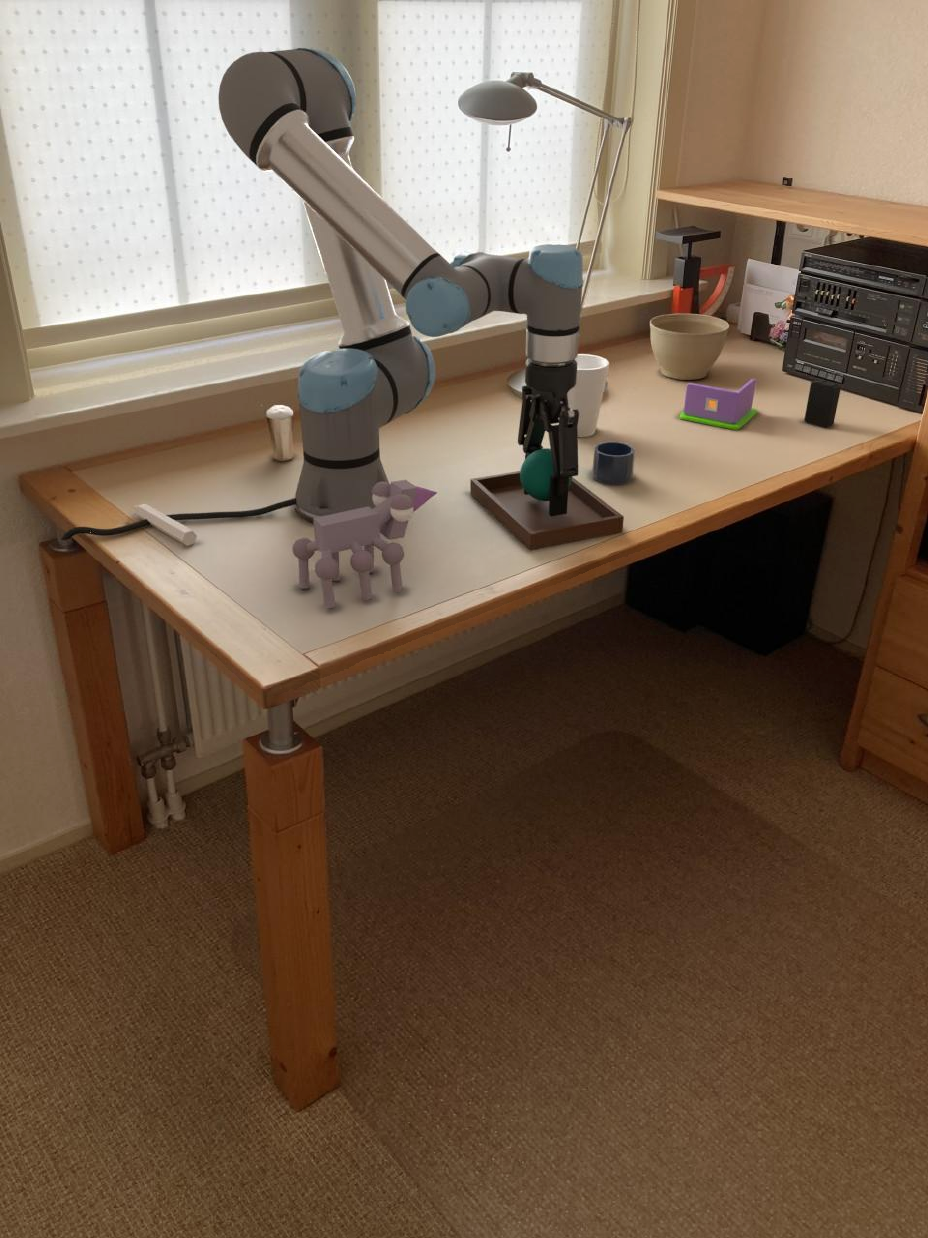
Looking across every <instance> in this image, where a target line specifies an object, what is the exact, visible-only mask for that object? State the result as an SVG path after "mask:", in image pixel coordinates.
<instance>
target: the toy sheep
mask: <svg viewBox="0 0 928 1238" xmlns="http://www.w3.org/2000/svg"><path fill="white" fill-rule="evenodd" d="M372 493H373V497H372V499H373V503H374V504H375V506H376V507H374V508H373V509H372V508H371V507H369V506H368V507H364V508H359V509H354V510H350V511H345V512H340V513H336V514H331V515H326V516H322V517H317V518H313V521H314V522H313V532H314V540H313V541H312V540H311V539H310V538H307V537H300V538H297V539H296V540H295V541H294V542H293V544H292V549H291V550H292V554H293V556H294V557H295V558H296V559H297V561H298V565H297V566H298V586H299V589H302V590H307V589H310V567H309V565H310V564H309V560H310V559H311V558H312V557H314V555H315V554H316V553H315V552H318V551H320V552H321V553H320V554H321V557H320V558H318V560H317V561H316V563H315V565H314V572H315V575H316V576H317V577H318V578H319V579H320V583H321V588H322V595H323V601H324V606H325V608H326V609H332V608H334V607H336V600H335V594H334V586H333V582H338V581H340V579H341V577H340V572H341V571H340V552H344V551H348V550H351V553H352V554H351V556H350V559H349V564H350V566H351V568H352V570H353V571H354V572H357V573H358V575H359V577H358V578H359V584H360V592H361V598H362V600H364V601H368V600H371V599H372V598H373V592H372V591H373V590H372V584H371V576H370V573H372V574H373V573H374V572H375V549H378V551H380V552H381V558H382V560H383V561H384V563H386V564H387V565H389V569H390V577H391V578H390V579H391V587H392V591H393V592H395V593H399V592H402V591H403V587H404V586H403V579H402V570H401V568H402V567H401V563H402V561H403V560H404V558H405V550H404V547H403V546H402V545H401V544H399V543H398V542H393V541H394V540H398V539H404V538H405V536H406V532H407V529H408V524H409V521H410V520H411V518H412V517H413V515H414V513H415V512H416V511H417V510H418V509H420V508H421V507H422V506H423V505H424V504H426V503H427V502H428V501H430V499H432V498H433V497H434V496H435V495H437V494H438V492H437V491H434V490H430V489H427V488H424V487H421V486H417V485H414V484H413V483H412V482H410V481H408V480H407V479H401V480H393V481H390V482H389V483H387V482H379V483H377V484H376V485H375V486H374V487H373V489H372ZM381 535H382V536H383V537H384V538H385V539H387V540H388V541H392V540H393V541H392V542H387V541H385V540H384V539H383V538H381ZM362 547H363V548H362Z"/></svg>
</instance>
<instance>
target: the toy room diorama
mask: <svg viewBox="0 0 928 1238" xmlns="http://www.w3.org/2000/svg"><path fill="white" fill-rule="evenodd" d="M756 384H757V379H755V378H751V379H750V380H749V381H748V382H746V383H745V384H744V385H743V386H742V387H740V389H738V390H737V391H735V390H732V389H725V388H721V387H715V386H710V385H706V384H705V385H704V384H699V383H695V382H694V383H693V382H688V383H687V384H686V389H685V397H684V406H683V411H681V413H680V414H679V419H681V420H684V421H689V422H694V423H698V424H703V425H708V426H714V427H717V428H723V429H728V430H735V431H737V430H740V429H741V428H742V427H743V426H745V425H746V424H748V422H749V421H750V420H752V418H753V417H755V416H756V415H757V414H758V409H756V408H754V407H753V403H754V396H755V390H756Z"/></svg>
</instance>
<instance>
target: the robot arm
mask: <svg viewBox="0 0 928 1238" xmlns="http://www.w3.org/2000/svg"><path fill="white" fill-rule="evenodd" d="M218 108H219V114H220V118H221V120H222V123H223V125H224V127H225V129H226V132H227V133H228V134H229V136H230V138H231V139H232V141H233V142H234V143H235V145H236V146H237V147H238V148H239V149H240V151H241V152H242V153H243V154H244V155H245V156H246V157H247V158H248V159H249V160H250V161H251V162H252V163H253V164H254V165H255V166H256V167H257V168H258V169H259V170H260V171H261V172H264V173H270V172H273V173H274V174H275V175H276V176H277V177H278V178H279V179H280V180H281V181H283V183H285V184H286V185H287V186H288V187H289V188H290V189H291V190H292V191H293V192H294V193H295V194H296V195H297V196H298V197H299V198H300V199H301V201H302V204H303V208H304V210H305V214H306V217H307V220H308V223H309V226H310V229H311V232H312V235H313V238H314V241H315V245H316V248H317V251H318V254H319V257H320V260H321V264H322V267H323V270H324V274H325V277H326V280H327V282H328V285H329V288H330V289H329V290H330V292H331V295H332V298H333V301H334V304H335V307H336V310H337V314H338V317H339V320H340V322H341V326H342V330H343V332H342V335H341V337H340V339H339V341H338V343H337V345H338V348H335V349H332V351H327V350H325V351H322V352H319V353H316V354H314V355H313V356H310V357H309V358H308V359H306V361H304V362H303V363H302V365H301V367H300V368H299V370H298V379H297V380H298V382H297V383H298V386H297V397H298V398H297V399H298V402H299V405H298V406H299V414H300V415H299V416H300V429H301V441H302V453H303V464H302V467H301V471H300V474H299V478H298V482H297V485H296V490H295V495H294V497H293V498H290V499H287V500H283V501H280V502H276V503H273V504H270V505H267V506H264V507H260V508H255V509H248V510H239V511H238V510H236V511H235V510H233V511H208V512H188V513H172V514H165V515H166V516H168V517H170V518H171V519H173V520H175V521H189V520H190V521H193V520H211V519H212V520H213V519H238V518H251V517H256V516H262V515H265V514H268V513H272V512H275V511H277V510H280V509H281V510H282V509H285V508H288V507H292V506H295V511H296V513H297V514H298V515H299V516H300V517H301V518H302V519H305V520H306V521H308V522H310V523H314V521H313V518H317V517H322V516H326V515H331V514H336V513H340V512H345V511H350V510H354V509H359V508H364V507H368V506H369V507H371V508H372V509H373V508H374V507H376V506H375V504H374V503H373V499H372V497H373V493H372V489H373V487H374V486H375V485H376V484H377V483H379V482H387V483H389V484H390V482H389V478H388V476H387V474H386V471H385V468H384V466H383V463H382V460H381V454H380V453H381V452H380V429H381V428H382V427H384V426H386V425H388V424H389V423H391V422H393V421H395V420H396V419H398V418H399V417H402V416H403V415H407V414H409V413H411V412H413V411H414V410H415V409H416V408H418V406H419V405H420V404H422V403H423V402H424V401H425V400H426V399H427V398H428V397H429V395H430V393H431V392H432V390H433V388H434V386H435V381H436V364H435V363H436V362H435V359H434V357H433V354H432V352H431V350H430V348H429V347H428V345H427V344H426V343H425V342H423V341H421V339H420V338H419V337H418V336H416V335H413V332H412V330H411V326H412V327H413V329H415V330H416V331H417V332H418V333H420V334H421V335H423V336H426V337H429V338H430V337H431V338H438V337H442V336H445V335H448V334H453V333H455V332H458V331H460V329H462V328H463V327H465V326H466V325H468V324H470V323H472V322H474V321H477V320H479V319H481V318H483V317H485V316H487V315H489V314H491V313H493V312H503V313H511V314H517V315H526V329H525V331H526V333H525V357H527V359H526V360H525V366H524V367H525V368H524V383H525V385H522V386H521V398H522V399H521V400H522V401H521V410H520V417H519V425H518V426H519V427H518V435H517V444H518V446H522V451H523V453H524V460H525V459H526V458H527V457H528V456H529V455H530V454H531V453H533V452H534V451H536V450H539V449H544V446H543V445H542V444H543V440H544V438H545V433H546V432H547V433H548V440H549V447H550V448H549V449H551V455H552V462H553V469H554V474H551V475H550V477H551V480H550V501H549V515H550V516H551V517H552V516H557V515H562V514H567V503H568V489H569V488H568V487H569V477H577V476H578V475H579V437H578V429H577V425H578V419H579V411H578V410H577V409H575V410H571V409H570V408H569V407H568V406H569V403H568V395H567V393H568V391H569V390H570V389H572V388H573V387H574V386H575V385H576V380H577V362H576V360H575V359H576V358H577V356H578V354H579V339H580V338H581V334H580V326H581V325H580V320H581V308H582V297H583V296H582V295H583V287H584V278H583V274H584V273H583V268H584V267H583V265H584V264H583V254H582V252H581V251H580V250H579V249H578V248H576V247H574V246H571V245H568V244H558V243H557V244H551V243H548V244H546V243H545V244H538V245H536V246H533V247H532V248H531V249H530V250H529V253H528V258H522V257H515V256H506V255H497V254H491V253H485V252H483V251H476V252H469V251H468V252H465V251H464V252H459V253H458V254H455V256H454V258H453V259H452V260H453V261H451V262H449V261H448V260H446V258H444V257H443V256H442V255H441V254H440V253H439V252H438V251H436V249H435V248H434V247H433V246H431V244H429V242H427V240H426V239H424V237H422V235H420V233H419V232H418V231H416V229H414V227H412V226H411V225H410V224H409V223H408V222H407V221H406V220H405V219H404V218H403V217H402V216H401V215H400V214H399V213H398V212H397V211H396V210H395V209H394V208H393V207H392V206H391V205H390V204H389V203H388V202H387V201H385V199H384V198H383V197H382V196H381V195H380V194H378V193H377V191H376V190H374V189H373V188H372V187H371V186H370V185H369V183H367V182H366V181H365V180H364V179H363V178H362V177H361V176H360V175H359V174H358V173H357V172H356V171H355V170H354V169H353V166H352V162H351V159H350V156H349V153H350V149H351V147H352V145H353V143H354V141H355V136H354V133H353V130H352V126H351V123H352V121H353V120H354V117H355V115H354V114H355V113H354V112H355V110H356V109H357V94H356V88H355V85H354V81H353V79H352V78H351V75H350V74H349V71H348V70H347V69H346V67H345V66H344V65H343V64H342V63H341V61H339V59H338V58H337V57H335V56H333V55H332V54H330V53H328V52H326V51H324V50H319V49H311V48H306V47H297V48H294V49H293V48H292V49H284V50H283V49H282V50H274V51H254V52H253V51H252V52H248V53H245V54H244V55H241V56H239V57H238V58H236V59H235V60H234V61H233V62H232V63H231V64H230V66H228V67H227V68H226V70H225V72H224V74H223V75H222V78H221V81H220V85H219V89H218ZM387 283H388V284H389V285H390V286H391V287H392V288H393V289H394V290H395V291H396V292H397V293H398V294H399V295H400V296H401V297H403V299H404V300H405V313H406V315H407V317H408V319H409V321H410V323H409V321H407V320H406V319H404V318H403V317H401V316H399V315H398V314H397V312H396V310H395V306H394V303H393V299H392V297H391V293H390V290H389V287H388V284H387ZM410 325H411V326H410ZM524 494H525V495H529V494H528V493H527V492H526V491H525V490H524ZM147 526H152V525H151V523H150V522H149V521H148V520H147V519H145V520H142V519H140V520H138V521H136V522H133V523H129V524H126V525H123V526H117V527H113V528H97V527H89V526H76V527H72V528H70V529H69V530H67V531H66V532H65V533H64V534H63V535H62V536H61V539H60V540H61V541H67V540H70V539H72V537H74V536H76V535H78V534H85V535H86V534H87V535H93V536H101V537H104V536H105V537H108V536H109V537H110V536H117V535H121V534H125V533H128V532H132V531H134V530H138V529H141V528H143V527H147ZM90 532H91V533H90Z"/></svg>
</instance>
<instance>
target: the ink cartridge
mask: <svg viewBox="0 0 928 1238" xmlns="http://www.w3.org/2000/svg"><path fill="white" fill-rule="evenodd" d="M809 387H810V388H809V391H808V398H807V404H806V409H805V415H804V418H803V419H804V422H805V423H807V424H810V425H813V426H817V427H820V428H825V429H828V428H830V427H831V426H833V425H834V424H835V419H836V414H837V409H838V404H839V400H840V394H841V391H842V390H841V385H839V384H838V383H836V382H831V381H827V380H825V379H815V380H813V381H811V382H810V386H809Z"/></svg>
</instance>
